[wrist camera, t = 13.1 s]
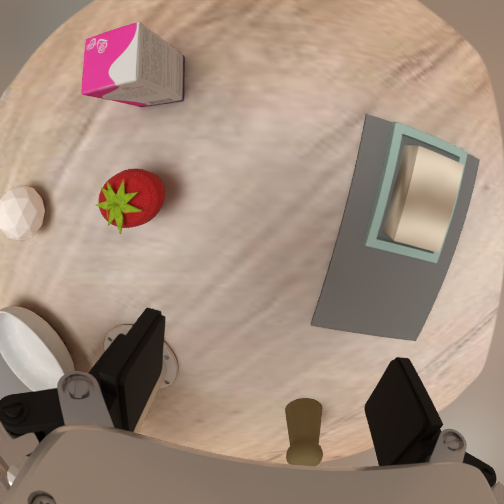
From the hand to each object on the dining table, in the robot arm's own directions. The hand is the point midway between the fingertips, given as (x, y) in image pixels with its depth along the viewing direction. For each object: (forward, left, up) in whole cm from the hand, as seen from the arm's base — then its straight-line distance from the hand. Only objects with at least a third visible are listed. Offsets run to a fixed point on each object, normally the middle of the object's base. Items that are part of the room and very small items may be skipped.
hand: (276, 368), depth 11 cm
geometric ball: (-4, +35, -24) cm, 43 cm away
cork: (-29, -11, -24) cm, 39 cm away
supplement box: (+14, +16, -24) cm, 32 cm away
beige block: (+7, -14, -23) cm, 28 cm away
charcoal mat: (+1, -15, -24) cm, 28 cm away
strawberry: (+1, +15, -24) cm, 28 cm away
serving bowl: (-31, +38, -24) cm, 55 cm away
